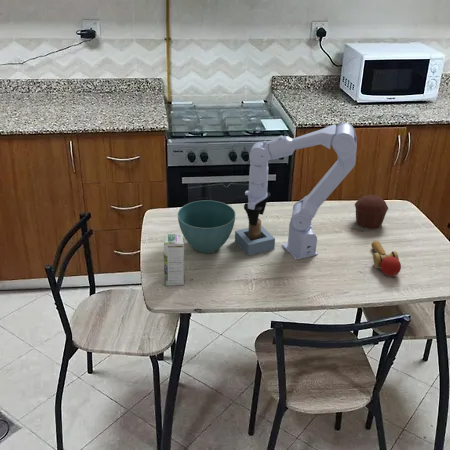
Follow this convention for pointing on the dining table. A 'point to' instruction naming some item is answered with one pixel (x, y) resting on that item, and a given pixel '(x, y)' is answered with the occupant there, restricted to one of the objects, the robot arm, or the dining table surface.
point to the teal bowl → (206, 224)
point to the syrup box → (173, 259)
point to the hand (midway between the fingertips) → (256, 219)
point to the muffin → (370, 211)
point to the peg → (255, 231)
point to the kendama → (386, 260)
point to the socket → (254, 241)
